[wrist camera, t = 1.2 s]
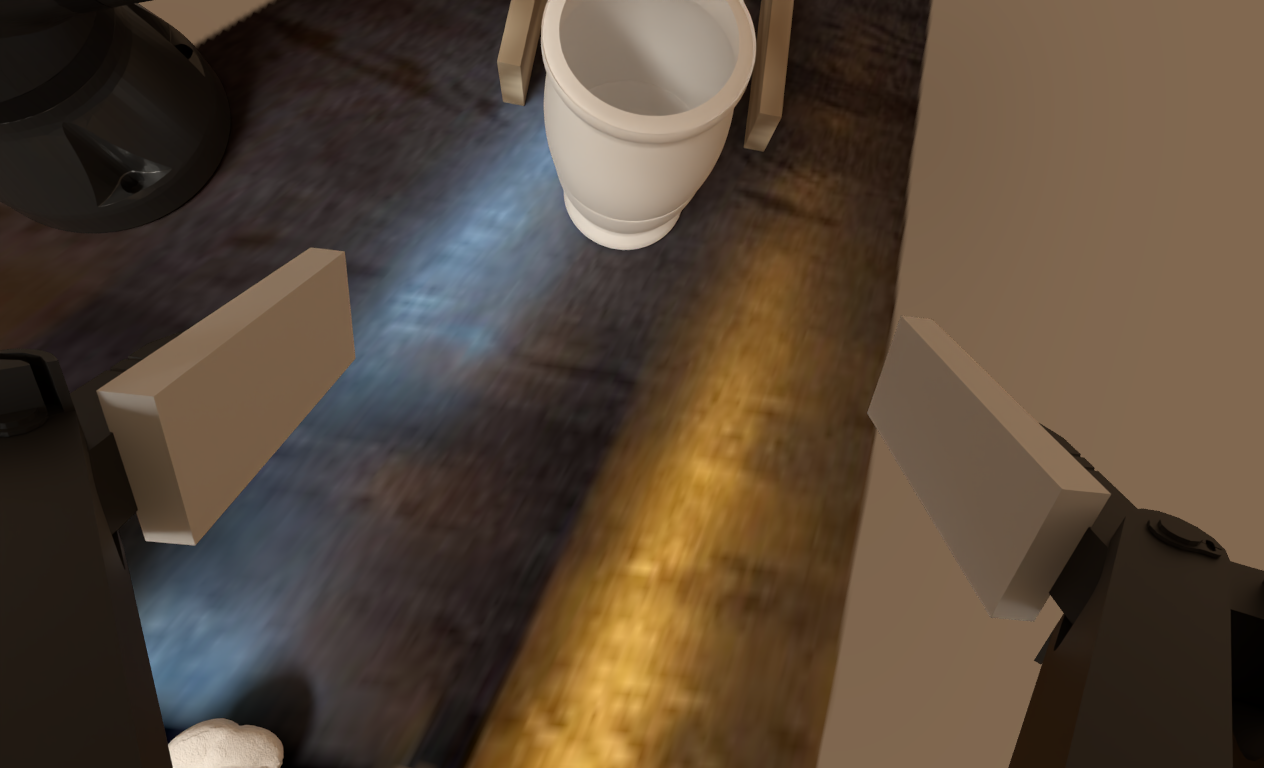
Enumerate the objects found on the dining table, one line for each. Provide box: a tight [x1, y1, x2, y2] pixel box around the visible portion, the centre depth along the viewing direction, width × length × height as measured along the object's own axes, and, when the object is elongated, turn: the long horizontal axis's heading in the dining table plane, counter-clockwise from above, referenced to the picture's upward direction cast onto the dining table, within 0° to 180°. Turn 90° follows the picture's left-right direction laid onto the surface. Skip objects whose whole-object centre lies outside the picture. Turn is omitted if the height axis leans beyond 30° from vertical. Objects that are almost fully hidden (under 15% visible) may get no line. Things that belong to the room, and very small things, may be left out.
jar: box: [541, 0, 756, 250], centre depth 37 cm, size 11×10×15 cm
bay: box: [497, 0, 794, 152], centre depth 46 cm, size 19×16×4 cm
